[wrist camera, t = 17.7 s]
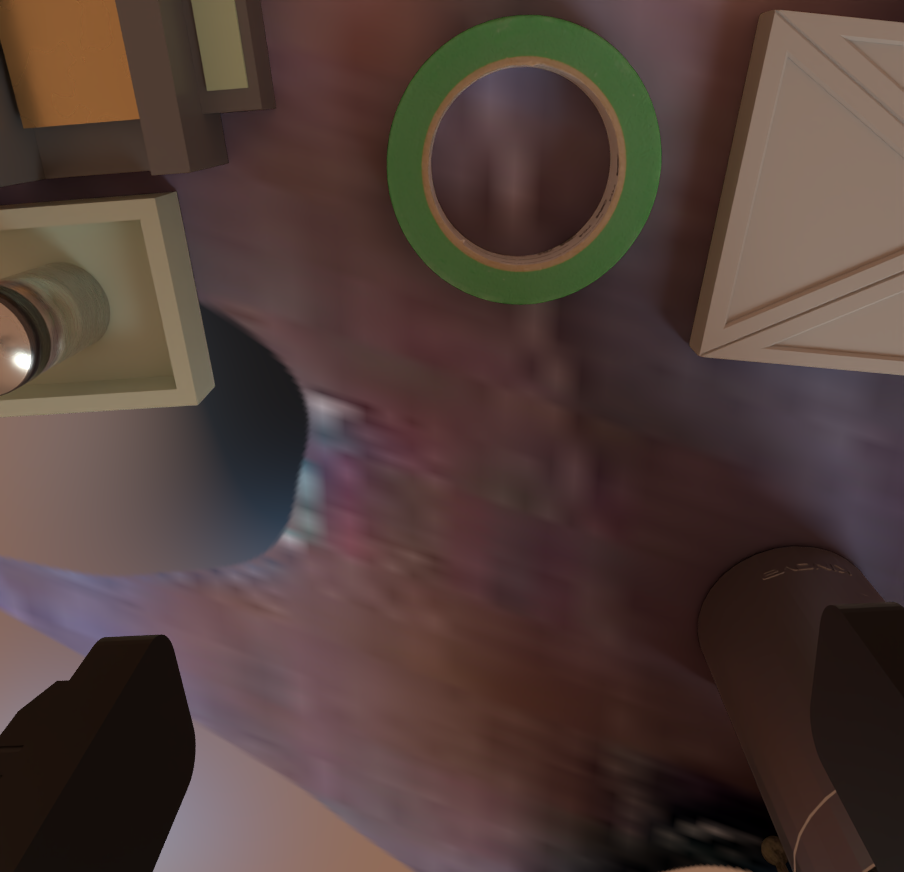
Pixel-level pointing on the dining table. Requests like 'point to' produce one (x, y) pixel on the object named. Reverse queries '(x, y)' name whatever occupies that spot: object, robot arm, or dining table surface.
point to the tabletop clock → (774, 853)
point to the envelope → (812, 202)
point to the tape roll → (629, 143)
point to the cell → (47, 320)
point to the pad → (67, 62)
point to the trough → (115, 303)
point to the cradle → (155, 95)
